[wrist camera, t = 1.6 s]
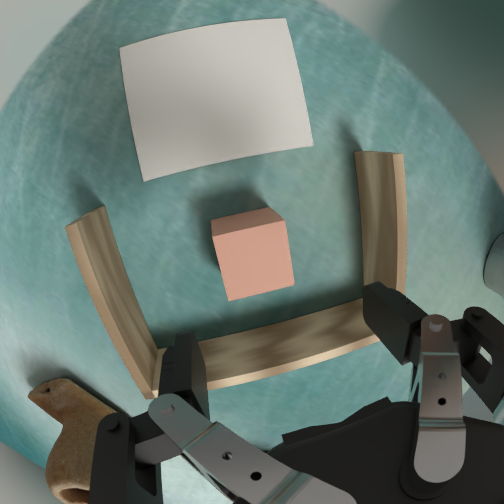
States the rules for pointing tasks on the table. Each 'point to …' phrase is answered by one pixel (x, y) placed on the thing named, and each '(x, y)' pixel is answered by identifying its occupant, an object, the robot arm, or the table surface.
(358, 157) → the wooden u-shaped wall
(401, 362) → the robot arm
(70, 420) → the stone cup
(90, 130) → the table surface
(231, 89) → the grey mat
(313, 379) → the table surface
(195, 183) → the table surface
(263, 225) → the terracotta block
